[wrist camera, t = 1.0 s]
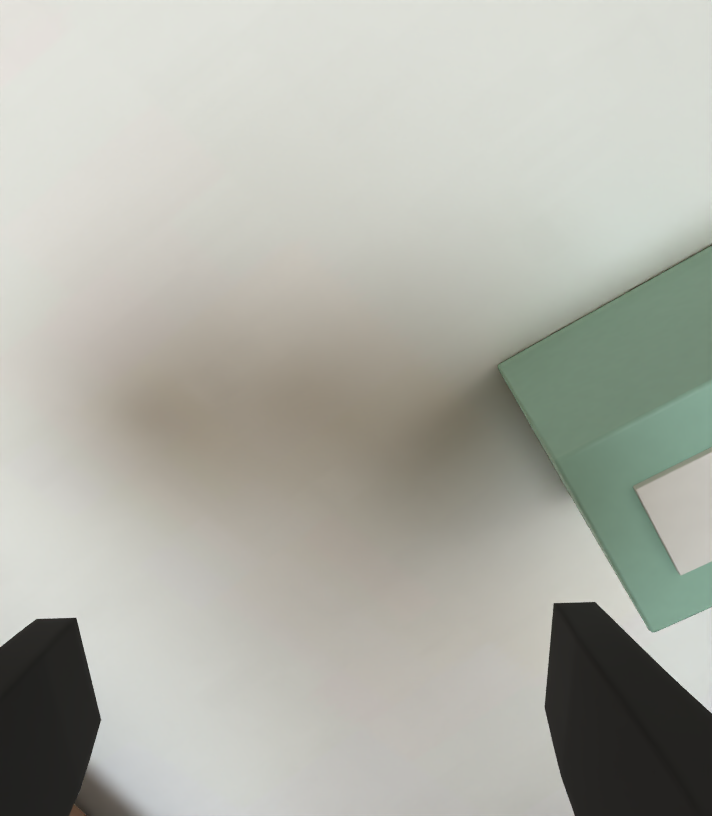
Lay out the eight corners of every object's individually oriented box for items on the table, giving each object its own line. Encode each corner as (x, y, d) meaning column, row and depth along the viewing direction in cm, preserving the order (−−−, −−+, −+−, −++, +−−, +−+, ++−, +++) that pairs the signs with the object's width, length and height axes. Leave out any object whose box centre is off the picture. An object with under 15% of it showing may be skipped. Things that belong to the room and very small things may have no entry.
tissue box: (799, 384, 19) (989, 492, 13) (572, 498, 20) (655, 640, 15) (738, 228, 17) (924, 276, 12) (495, 364, 19) (555, 465, 13)
